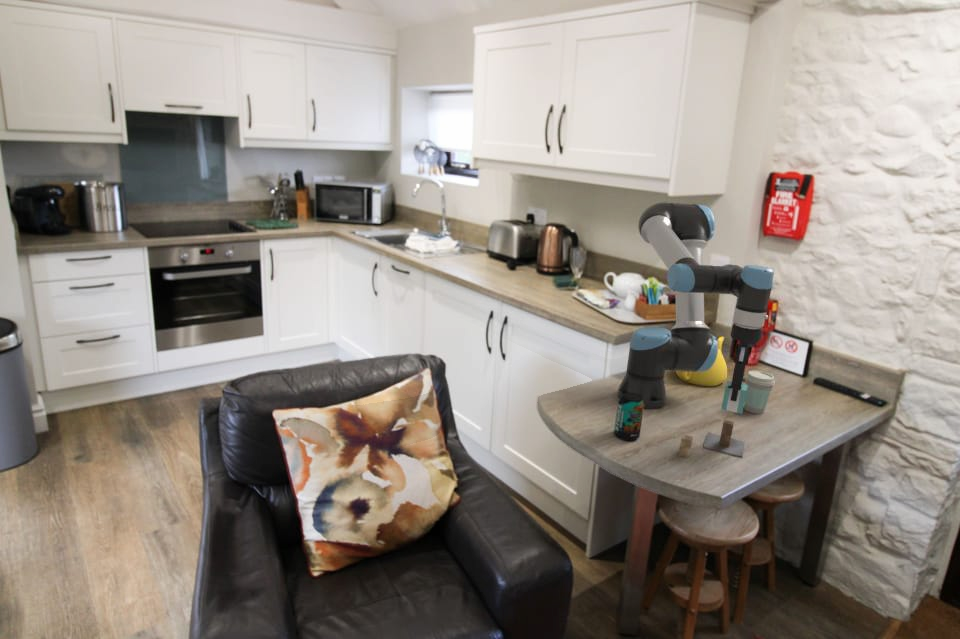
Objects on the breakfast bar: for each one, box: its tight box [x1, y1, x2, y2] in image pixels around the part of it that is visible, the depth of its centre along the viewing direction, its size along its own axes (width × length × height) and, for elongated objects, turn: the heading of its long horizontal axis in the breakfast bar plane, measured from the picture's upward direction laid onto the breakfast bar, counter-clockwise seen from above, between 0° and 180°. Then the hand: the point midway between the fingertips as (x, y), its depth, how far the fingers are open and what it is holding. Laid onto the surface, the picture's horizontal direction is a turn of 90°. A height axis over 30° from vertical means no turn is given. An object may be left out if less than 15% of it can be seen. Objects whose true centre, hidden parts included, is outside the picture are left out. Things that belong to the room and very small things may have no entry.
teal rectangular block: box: [721, 380, 748, 415], centre depth 169 cm, size 5×5×7 cm
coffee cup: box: [743, 370, 776, 415], centre depth 197 cm, size 8×9×12 cm
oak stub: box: [677, 434, 694, 458], centre depth 166 cm, size 3×3×5 cm
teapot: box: [675, 336, 728, 387], centre depth 222 cm, size 25×18×14 cm
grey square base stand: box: [702, 419, 745, 458], centre depth 172 cm, size 10×10×7 cm
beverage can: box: [613, 392, 645, 442], centre depth 173 cm, size 7×7×12 cm
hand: (732, 407), depth 170 cm, fingers closed on teal rectangular block, 5 cm apart
